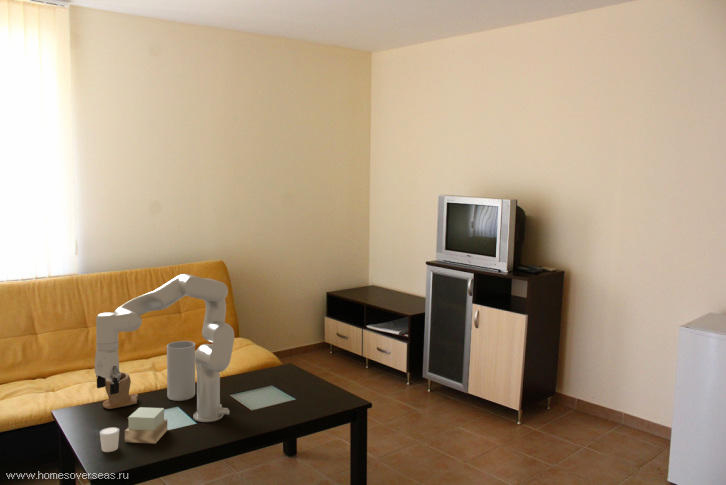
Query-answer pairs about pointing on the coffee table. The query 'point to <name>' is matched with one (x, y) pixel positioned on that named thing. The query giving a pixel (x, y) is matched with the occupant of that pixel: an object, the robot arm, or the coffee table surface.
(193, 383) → the cylinder vase
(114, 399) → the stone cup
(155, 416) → the sage top block
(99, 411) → the coffee table surface
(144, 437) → the oak base block
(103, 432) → the shot glass
